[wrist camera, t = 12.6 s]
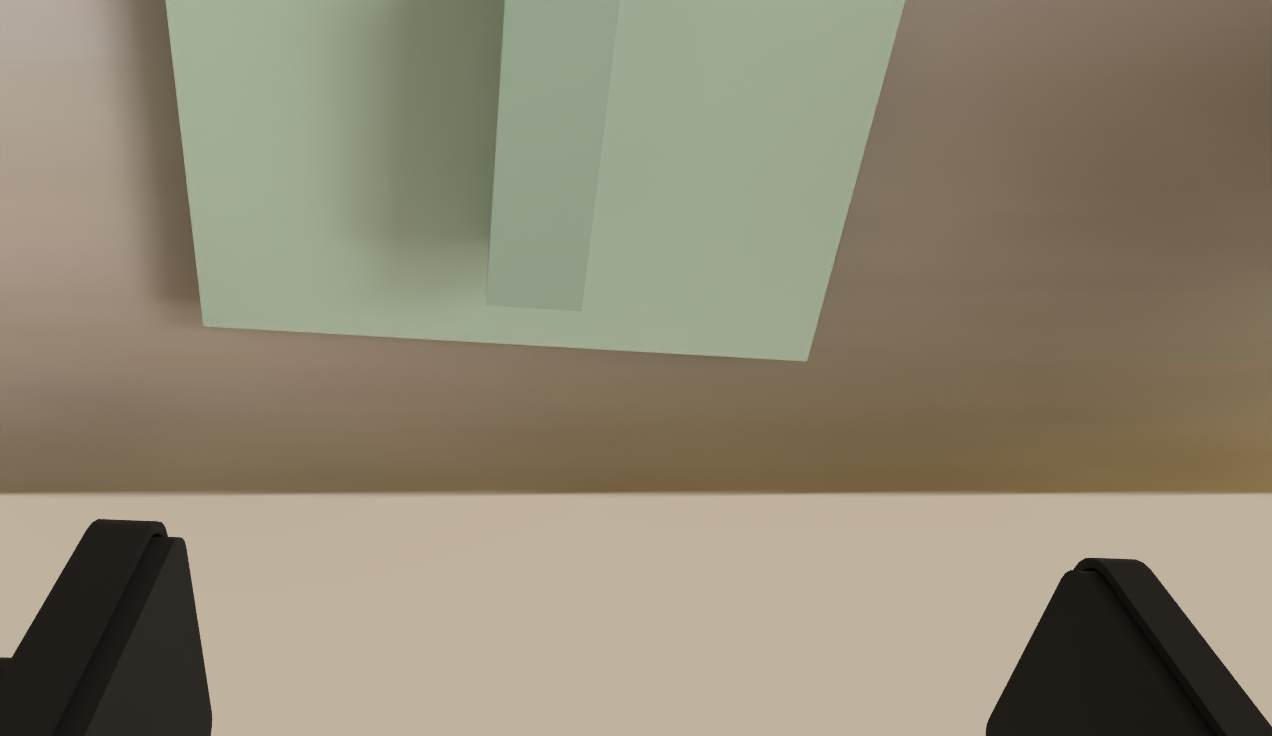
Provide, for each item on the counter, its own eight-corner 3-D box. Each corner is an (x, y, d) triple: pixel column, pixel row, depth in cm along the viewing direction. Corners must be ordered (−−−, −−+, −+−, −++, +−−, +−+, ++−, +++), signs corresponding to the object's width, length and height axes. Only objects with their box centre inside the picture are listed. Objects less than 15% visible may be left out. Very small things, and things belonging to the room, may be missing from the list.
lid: (912, -150, 26) (1017, -130, 20) (790, 328, 33) (843, 431, 28) (164, -270, 22) (60, -283, 17) (221, 292, 30) (162, 401, 25)
